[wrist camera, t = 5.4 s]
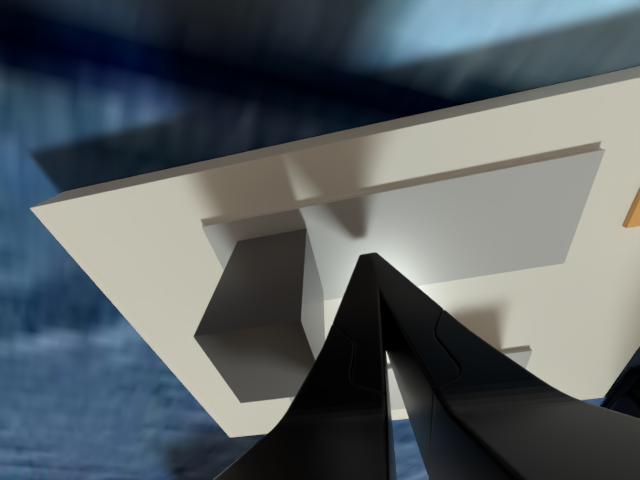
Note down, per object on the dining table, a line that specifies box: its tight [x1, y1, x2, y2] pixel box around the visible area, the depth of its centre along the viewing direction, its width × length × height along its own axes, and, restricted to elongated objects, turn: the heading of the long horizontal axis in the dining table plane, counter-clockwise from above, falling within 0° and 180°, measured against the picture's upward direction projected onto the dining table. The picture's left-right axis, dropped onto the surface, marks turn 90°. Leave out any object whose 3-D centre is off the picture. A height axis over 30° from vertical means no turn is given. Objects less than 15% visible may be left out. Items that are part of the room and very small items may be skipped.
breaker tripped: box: [193, 228, 325, 403], centre depth 8 cm, size 2×3×4 cm
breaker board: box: [30, 66, 640, 438], centre depth 13 cm, size 24×18×2 cm
